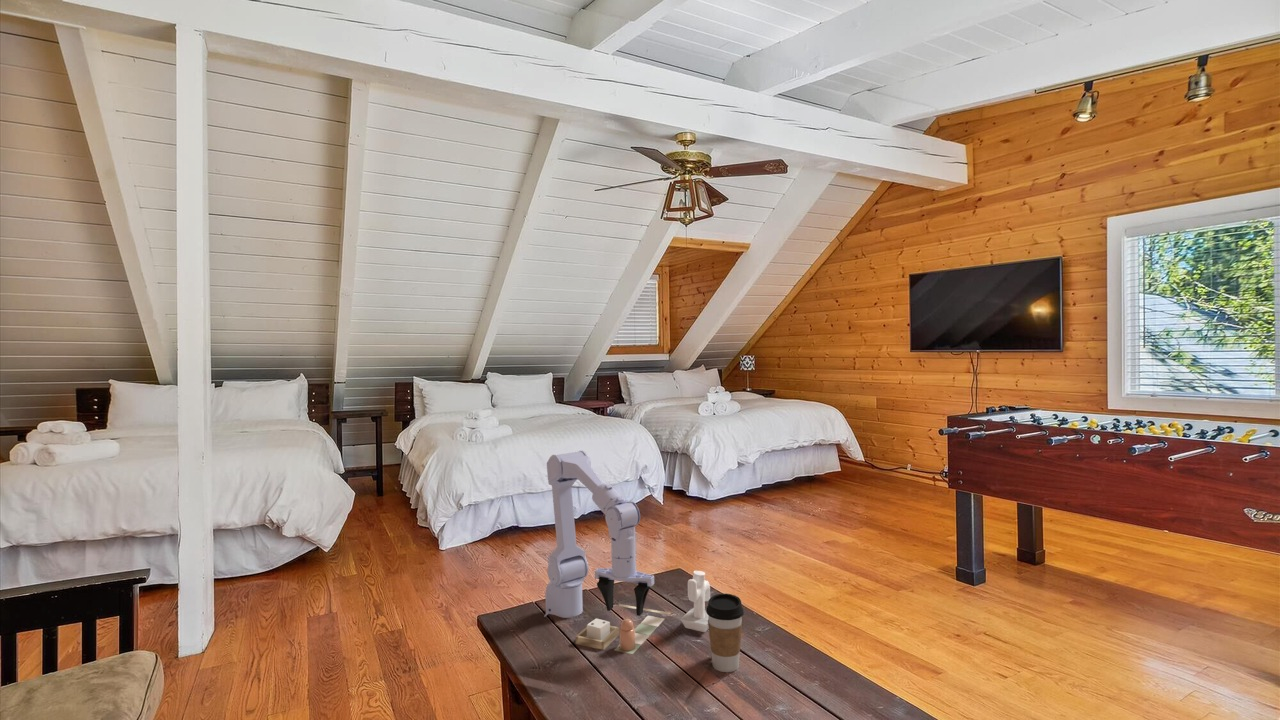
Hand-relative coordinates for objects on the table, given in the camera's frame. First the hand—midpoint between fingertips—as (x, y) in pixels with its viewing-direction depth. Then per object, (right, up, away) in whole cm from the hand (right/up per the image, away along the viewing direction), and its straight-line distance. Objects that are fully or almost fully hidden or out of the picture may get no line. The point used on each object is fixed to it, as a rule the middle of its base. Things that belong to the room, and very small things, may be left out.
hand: (624, 611), depth 154 cm
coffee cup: (+23, -10, -6) cm, 26 cm away
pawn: (+1, -9, 0) cm, 9 cm away
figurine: (+19, -9, +11) cm, 23 cm away
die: (-6, -9, +5) cm, 12 cm away
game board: (0, -9, +10) cm, 14 cm away
